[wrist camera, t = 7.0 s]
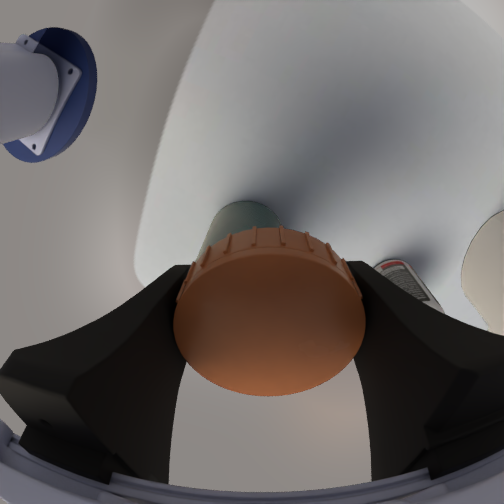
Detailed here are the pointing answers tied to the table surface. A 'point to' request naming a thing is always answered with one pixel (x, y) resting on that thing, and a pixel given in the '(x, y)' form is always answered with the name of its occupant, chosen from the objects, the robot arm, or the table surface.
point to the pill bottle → (408, 281)
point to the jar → (238, 221)
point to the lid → (269, 313)
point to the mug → (486, 273)
